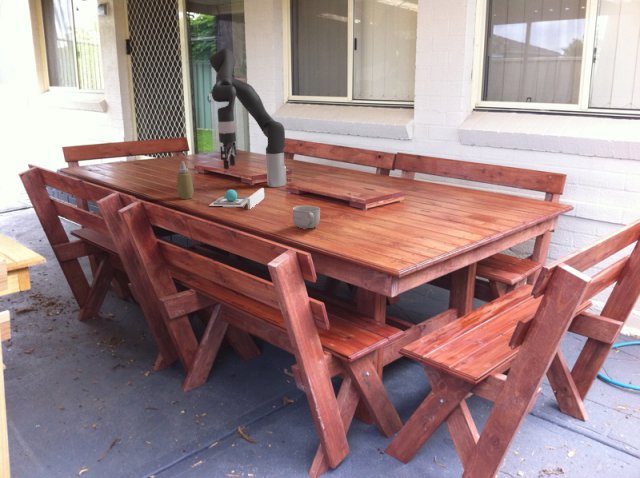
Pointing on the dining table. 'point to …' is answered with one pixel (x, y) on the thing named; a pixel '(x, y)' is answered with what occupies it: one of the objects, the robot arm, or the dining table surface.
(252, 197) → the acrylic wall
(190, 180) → the squeeze bottle
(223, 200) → the pad
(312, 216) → the teacup
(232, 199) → the teal ball
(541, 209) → the dining table surface
